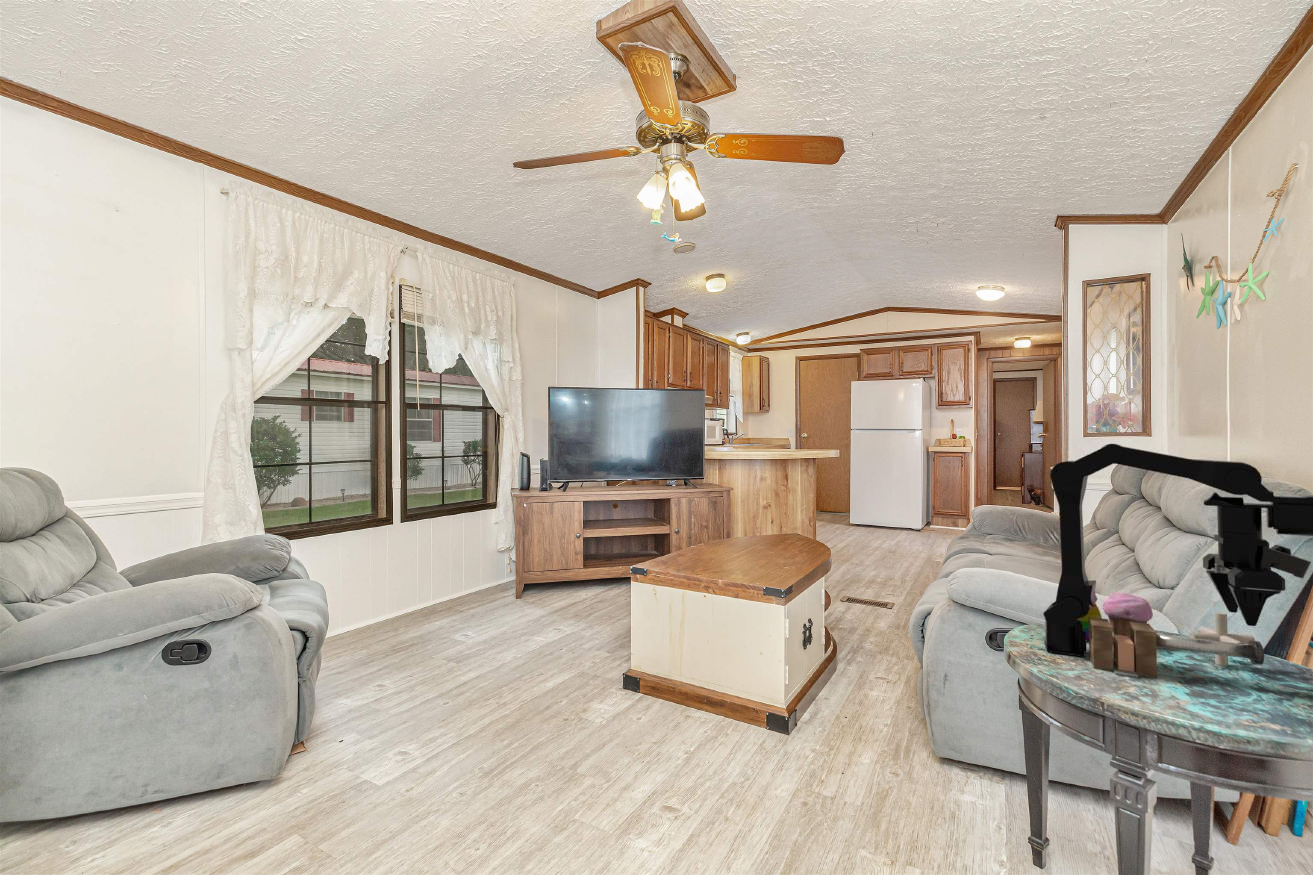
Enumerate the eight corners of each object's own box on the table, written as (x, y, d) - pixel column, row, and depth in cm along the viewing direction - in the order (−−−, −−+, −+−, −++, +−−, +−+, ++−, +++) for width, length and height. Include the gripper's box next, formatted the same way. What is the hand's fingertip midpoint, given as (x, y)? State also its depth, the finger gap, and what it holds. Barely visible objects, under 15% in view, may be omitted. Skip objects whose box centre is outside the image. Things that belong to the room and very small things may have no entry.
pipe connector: (1272, 675, 110) (1271, 621, 110) (1210, 672, 112) (1209, 619, 112) (1232, 656, 120) (1231, 607, 120) (1175, 653, 122) (1174, 604, 122)
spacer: (1118, 669, 113) (1117, 642, 113) (1113, 660, 118) (1113, 634, 118) (1134, 671, 112) (1133, 644, 112) (1128, 662, 117) (1128, 636, 117)
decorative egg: (1049, 632, 137) (1048, 588, 137) (1081, 630, 138) (1080, 587, 138) (1078, 643, 128) (1077, 597, 129) (1112, 641, 129) (1111, 596, 130)
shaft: (1140, 652, 112) (1140, 630, 112) (1136, 645, 115) (1135, 625, 116) (1264, 667, 104) (1263, 645, 104) (1255, 660, 107) (1255, 638, 107)
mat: (1115, 674, 111) (1115, 673, 111) (1106, 657, 120) (1106, 656, 120) (1138, 677, 110) (1138, 676, 110) (1127, 660, 119) (1127, 658, 119)
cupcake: (1100, 630, 137) (1099, 587, 137) (1148, 636, 133) (1147, 591, 133) (1106, 641, 129) (1105, 596, 130) (1157, 648, 125) (1156, 600, 125)
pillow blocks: (1093, 668, 115) (1093, 625, 115) (1089, 658, 120) (1088, 617, 120) (1157, 677, 110) (1156, 632, 110) (1149, 666, 115) (1148, 623, 115)
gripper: (1329, 542, 95) (1331, 640, 94) (1279, 527, 111) (1282, 611, 111) (1234, 538, 100) (1237, 630, 100) (1201, 524, 116) (1203, 604, 116)
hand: (1241, 618), depth 107 cm, fingers open, 9 cm apart
